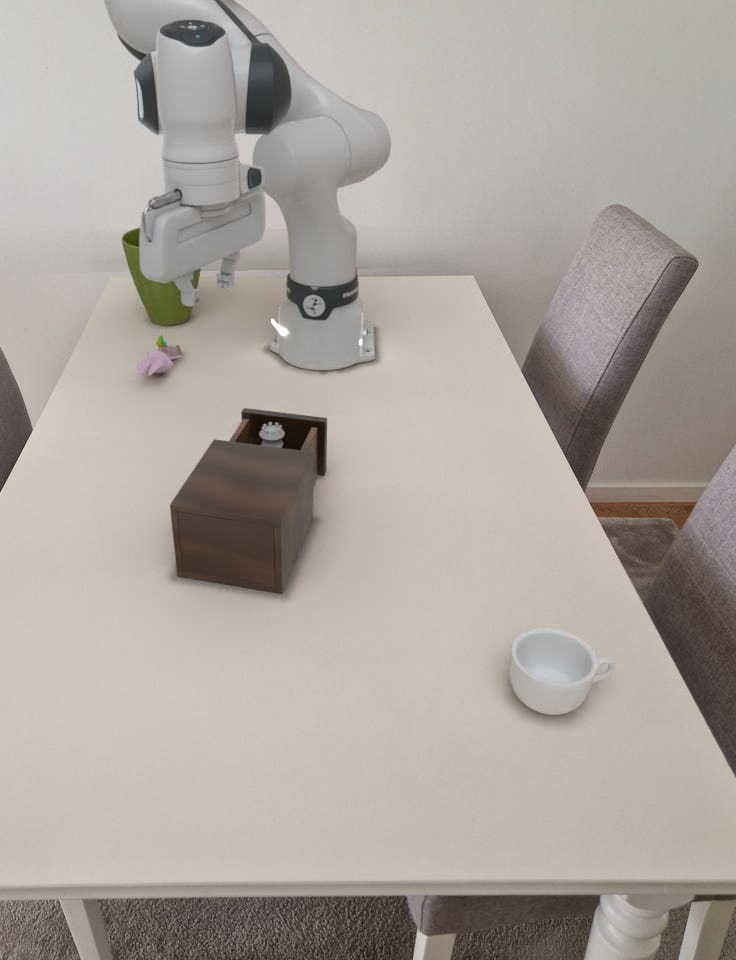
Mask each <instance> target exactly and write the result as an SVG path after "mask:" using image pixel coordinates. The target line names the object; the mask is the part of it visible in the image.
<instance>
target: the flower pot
mask: <svg viewBox="0 0 736 960" xmlns="http://www.w3.org/2000/svg"><path fill="white" fill-rule="evenodd" d="M120 238H121V244H122V247H123V252H124V255H125V259H126V263H127V266H128V269H129V273H130V275H131V278H132V281H133V283H134V286H135V288H136V291H137V294H138V296H139V298H140V300H141V303H142V305H143V307H144V309H145V311H146V313H147V315H148V317H149V319H150V321H151V322H152V323H153V324H156V325H159V326H176V325H177V326H178V325H181V324H183V323H186V322H187V321H188V320H189V319H190V318H191V315H192V311H193V308H194V306H192V307H189V306H185V305H183V304H182V302H181V291H180V290H179V289H178V287H177V286H176V284H175V282H174V281H171V282H169V283H161V282H156V281H153V280H149V279H147V278H146V277H145V276H144V275H143V274H142V272H141V269H140V250H139V241H140V227H137V228H133V229H131V230H127V232H125V233H123V234H122V236H121V237H120ZM201 270H202V268H199V269H197V270H195V271H193V279H192V280H190V281H191V284H192V286H193V288H194V289H198V287H199V282H200V276H201Z"/></svg>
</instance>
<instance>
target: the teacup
mask: <svg viewBox="0 0 736 960" xmlns="http://www.w3.org/2000/svg"><path fill="white" fill-rule="evenodd" d="M603 665H608V667H607V669H605V670H604V671H603V672H601V673H598V674H597V671H598V669H599V668H600V667H601V666H603ZM614 670H615V665H614V662H613V661H612V660H611V659H610V658H608V657H604V656H603V657H602V656H601V657H600V656H599V657H598V656H597V653H596V652H595V650H594V648H593V647H592V646H591V645H590V644H589V643H588V642H587V641H585V640H584V639H582V638H581V637H580V636H578V635H576V634H574V633H572V632H569V631H566V630H563V629H560V628H553V627H538V628H532V629H528V630H526V631H524V632H522V633H520V634H519V635H518V636H517V637H516V638H515V639H514V641H513V643H512V644H511V650H510V656H509V680H510V684H511V687H512V690H513V692H514V694H515V695H516V697H517V698H518V699H519V700H520V701H521V702H522V703H523V704H524V705H525V706H526V707H528V708H529V709H531V710H533V711H535V712H537V713H540V714H544V715H549V716H559V715H565V714H568V713H570V712H573V711H574V710H576V709H577V708H579V707H580V706H581V705H582V703H583V702H584V700H585V699H586V697H587V696H588V694H589V692H590V690H591V688H592V686H593V684H596V683H598V682H600V681H603V680H604V679H607V678H608V677H610V676H611V675H612V674H613V672H614Z"/></svg>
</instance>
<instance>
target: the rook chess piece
mask: <svg viewBox="0 0 736 960" xmlns="http://www.w3.org/2000/svg"><path fill="white" fill-rule="evenodd" d="M259 435H260V437H261V438H262V439H263V441H262V443H261V445H262V446H270V447H278V448H282V446H283V442H282V441H281V439H282V438H283V437H284V435H285V432H284V431H283V430H282V426H281V425H279V423H275V425H272V422H268V426H267V424H264V425H263V427H262V430H261V431H260V433H259Z"/></svg>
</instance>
